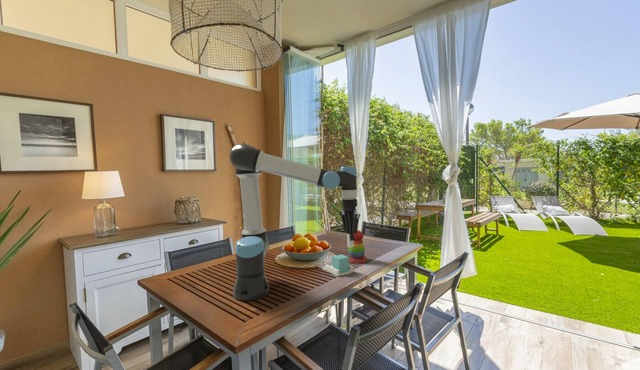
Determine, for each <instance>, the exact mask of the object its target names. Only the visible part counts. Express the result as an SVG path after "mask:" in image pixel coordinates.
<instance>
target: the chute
mask: <svg viewBox="0 0 640 370" xmlns="http://www.w3.org/2000/svg"><path fill="white" fill-rule="evenodd" d="M317 268H320V269H321V270H323V271H325V272H327V273H329V274H330V275H333V276H334V277H341V275H342V276H345V274H346V275H348V274H352V272H353V273H354V266H352V265H350V264H349V271H346V272H342V273H339V270H338V269H335V268H333V267H332V262H330V263H328V264H326V265H321V266H318V267H317Z"/></svg>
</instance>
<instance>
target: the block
mask: <svg viewBox="0 0 640 370" xmlns="http://www.w3.org/2000/svg"><path fill="white" fill-rule="evenodd" d="M349 257H350V256H349ZM349 257H348V256H346V255H345V254H341V253H340V254H337V255H333V256H331V261H332V267H333V268H335V269H338V270H339V273H342V272H346V271H349V265H350V264H349V262H350V261H349Z"/></svg>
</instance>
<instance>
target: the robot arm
mask: <svg viewBox="0 0 640 370" xmlns="http://www.w3.org/2000/svg"><path fill="white" fill-rule="evenodd" d="M229 160H230V161H229V162H230V163H231V165H232V167H234V169H235V176H237V177H238V178H239V185H240V194H241V195H240V196H241V204H242V205H241V206H242V215H243V216H242V217H243V218H242V219H243V226H244V227H243V230H242V231H241V238H239V239H238V240H237V241H236V243H235V265H236V267H235V268H236V279H235V283H234V286H233V290H232V296H233V298H234V299H235V300H237V301H245V302H246V301H248V302H249V301H255V300H259V299H263V298H264V297H266V296H267V295H269V293H270V285H269V282H268V280H267V277H266V274H265V273H266V272H265V257H266V255H267V253H268V251H269V249H270V248H269V247H270V241H269V238H268V234H267V228H265V227H264V226H263V225H264V223H263V215H262V213H263V212H262V203H261V202H262V201H261V191H260V180H259V177H260V176H261V174H262V172H263V173H267V174H272V175H275V176H280V177H283V178H287V179H291V180H295V181H299V182H303V183H306V184H311V185H315V186H316V187H318V188H325V189H327V190H335V189H336V188H337V187H340V194H341V197H340V198H342V199H341V207H342V208H343V209H342V211H339V214H340V217H341V224H342V229H343V232H345V233H346V239H347V241H346V242H347V246H346V247H347V248H348V247H349V248H350V247H354V233H357V230H359V229H358V228H359V222H360V221H359V220H360V218H361V214H360V213H358V212H357V207H358V199H357V197H358V190H357V187H358V184H357V183H358V182H357V181H358V179H357V177H358V175H357V168H356V166H354V165H353V166H341V167H340V170H328V169H324V168H320V167H317V166H314V165H313V166H312V165H309V164H305V163H302V162H298V161H294V160H290V159H287V158H282V157H279V156H275V155H272V154H268V153H265V152H264V151H263V150H262V149H258V148H256V147H255V146H253V145H250V144H246V143H238V144H236V145H235V146H233V147H232V149H231V150H230V152H229Z"/></svg>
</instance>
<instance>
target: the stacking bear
mask: <svg viewBox="0 0 640 370" xmlns="http://www.w3.org/2000/svg"><path fill="white" fill-rule="evenodd" d="M364 237H365V235H364V234H363V233H362V231H361V230H359V229H357V233H354V247H350V248H349V247H347V248H348V249H347V251H348V255H349V262H350V263H354V264H358V265H359V264H361V265H362V264H366V263H367V256H365V253H366V250H365V248H366V247H365V244H364V240H363V239H364Z"/></svg>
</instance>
